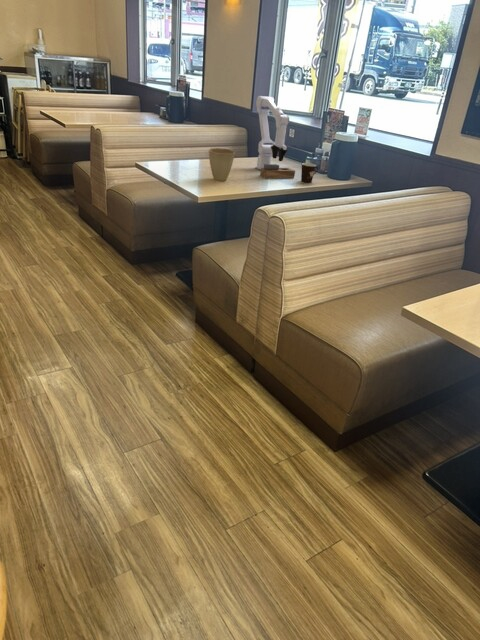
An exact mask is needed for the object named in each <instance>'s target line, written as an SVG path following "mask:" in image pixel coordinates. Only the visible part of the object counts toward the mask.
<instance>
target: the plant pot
mask: <svg viewBox="0 0 480 640" xmlns="http://www.w3.org/2000/svg"><path fill="white" fill-rule="evenodd" d="M235 154H236V151H235V150H232V149H228V148H219V147H217V148H216V147H215V148H209V149H208V158H209V165H210V171H211V175H212V178H213V180H215V181H219V182H224V181H227V179H228V177H229V174H230V173H231V169H232V167H233V163H234V158H235V156H236V155H235Z"/></svg>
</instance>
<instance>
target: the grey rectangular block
mask: <svg viewBox="0 0 480 640" xmlns="http://www.w3.org/2000/svg"><path fill="white" fill-rule="evenodd" d="M279 168H280V165H279V164H276V163H275V164H274V163H273V164H264V169H265V170H279Z"/></svg>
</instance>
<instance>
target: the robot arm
mask: <svg viewBox="0 0 480 640" xmlns="http://www.w3.org/2000/svg"><path fill="white" fill-rule="evenodd" d="M255 102H256V103H255V105H256V111H257V113H258V117H259V118H258V119H259V127H260V128H259V129H260V134H261V135H260V136H261V140H260V141H259V142H258V148H257V151H258V153H259V154H258V157H257V161H256V166H255V168H256V169H258V170H260V171H261V168H264V164H271V163H272V159H277V157H278V161H279V162H283V160H284V157H285V155H286V153H287V152H288V149H287V148H288V147H287V145H286V144H285V141H286V134H287V133H286V132H287V126H288V125H289V124H290V116H289V115H288V114H285V113H284V112H283V110H282V109H281V107H277V105H276V103H275V98H274V97H273V96H265V95H264V96H263V95H258V96H257V98H256V101H255ZM270 112H271V115H272V116H273V118H274V120H275V128H276V132H275V139H274V141H273V140H272V139H271V138H270V137H271V136H270V129H269V121H268V114H269V113H270Z"/></svg>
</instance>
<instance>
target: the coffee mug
mask: <svg viewBox="0 0 480 640" xmlns="http://www.w3.org/2000/svg"><path fill="white" fill-rule="evenodd" d="M318 169H319V168H318V166H317V165H316V164H314V163H309V162H303V163H301V175H300V176H301V178H300V181H301V182H302V183H308V184H310V183H313V179H314V175H315V174H316V173H317V172H318Z"/></svg>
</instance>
